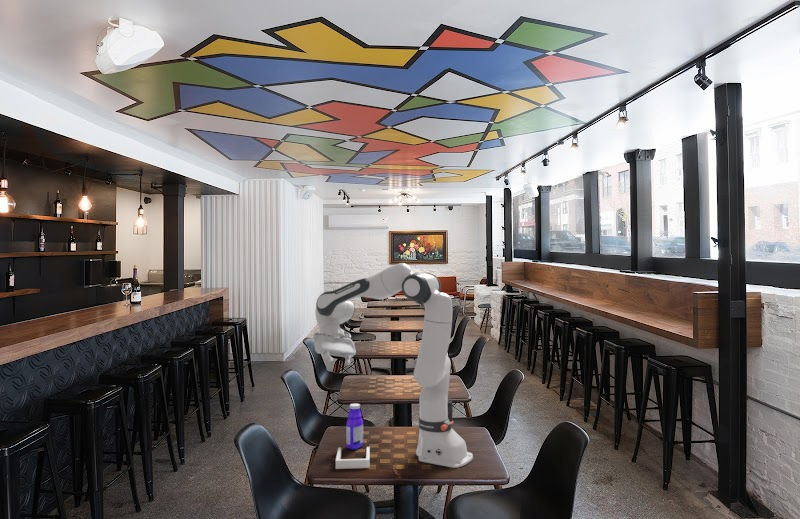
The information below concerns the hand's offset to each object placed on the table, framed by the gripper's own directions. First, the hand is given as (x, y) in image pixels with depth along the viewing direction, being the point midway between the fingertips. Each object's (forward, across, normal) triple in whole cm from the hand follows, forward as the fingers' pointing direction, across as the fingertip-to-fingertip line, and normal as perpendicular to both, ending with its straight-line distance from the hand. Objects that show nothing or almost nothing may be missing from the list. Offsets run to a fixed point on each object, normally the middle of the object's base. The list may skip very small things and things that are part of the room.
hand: (339, 363), depth 198 cm
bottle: (+29, +12, +16) cm, 35 cm away
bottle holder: (+37, +2, +10) cm, 38 cm away
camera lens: (+33, +46, -4) cm, 57 cm away
